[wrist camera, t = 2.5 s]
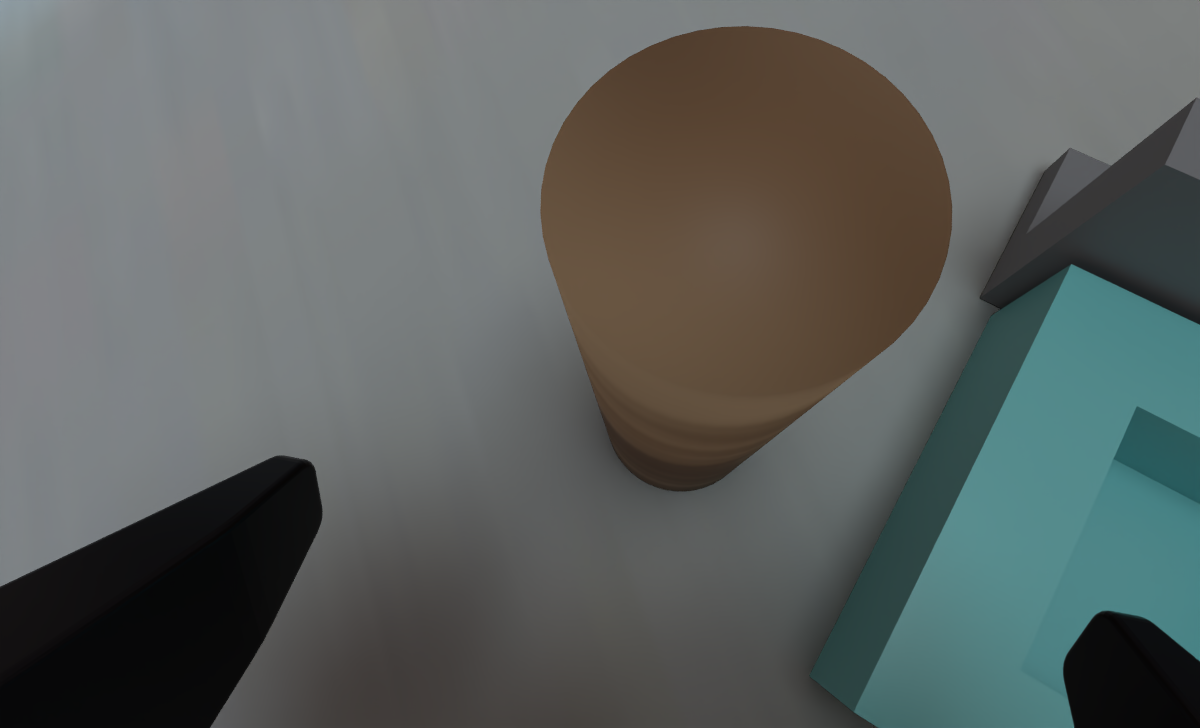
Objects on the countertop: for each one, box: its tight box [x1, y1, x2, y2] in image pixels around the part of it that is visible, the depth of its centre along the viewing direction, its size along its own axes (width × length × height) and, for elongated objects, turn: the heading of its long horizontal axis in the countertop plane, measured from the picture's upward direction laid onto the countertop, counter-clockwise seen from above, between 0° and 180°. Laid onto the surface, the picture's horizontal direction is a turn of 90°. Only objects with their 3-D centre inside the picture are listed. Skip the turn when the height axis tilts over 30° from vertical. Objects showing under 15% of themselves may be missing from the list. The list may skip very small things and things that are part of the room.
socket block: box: [809, 264, 1200, 728], centre depth 15 cm, size 11×11×4 cm
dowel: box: [541, 26, 952, 491], centre depth 13 cm, size 4×4×12 cm
